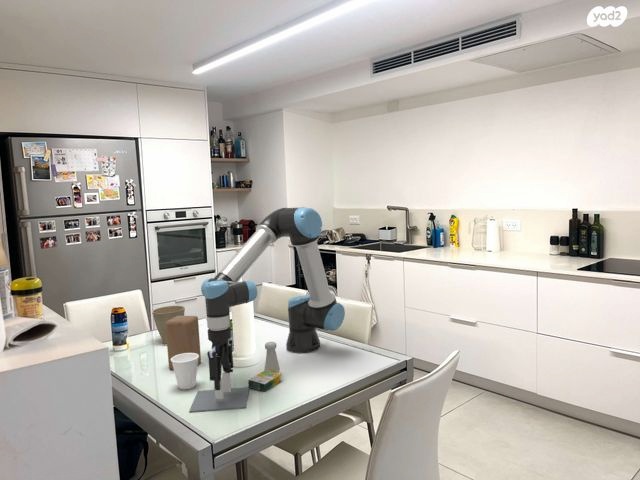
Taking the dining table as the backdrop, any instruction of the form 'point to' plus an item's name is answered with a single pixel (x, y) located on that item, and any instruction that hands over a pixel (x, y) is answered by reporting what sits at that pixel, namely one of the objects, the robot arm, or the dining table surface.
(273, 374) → the crayon box
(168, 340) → the wooden block
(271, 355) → the salt shaker
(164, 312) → the plant pot
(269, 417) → the dining table surface
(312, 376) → the dining table surface
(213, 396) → the mat
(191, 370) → the cup
